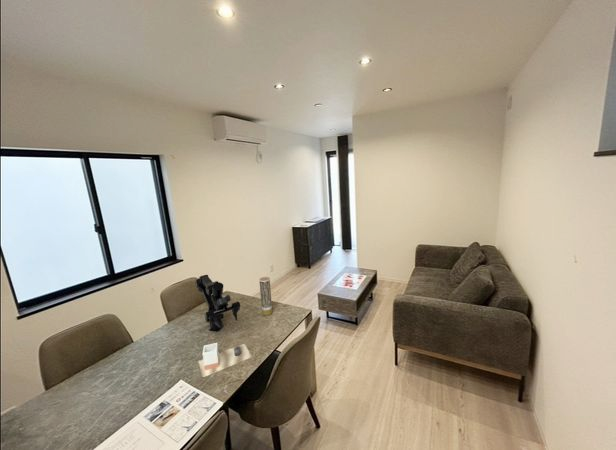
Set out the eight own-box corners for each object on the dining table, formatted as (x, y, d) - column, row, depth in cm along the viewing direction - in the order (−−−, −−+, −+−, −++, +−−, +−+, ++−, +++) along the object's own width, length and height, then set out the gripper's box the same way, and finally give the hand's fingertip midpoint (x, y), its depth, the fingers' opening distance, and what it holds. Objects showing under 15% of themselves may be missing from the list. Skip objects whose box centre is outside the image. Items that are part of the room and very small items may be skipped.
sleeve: (204, 370, 123) (202, 353, 121) (206, 361, 129) (203, 345, 127) (218, 367, 124) (216, 350, 123) (219, 358, 130) (217, 342, 129)
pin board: (202, 379, 118) (201, 371, 118) (198, 362, 129) (197, 355, 128) (252, 358, 130) (251, 351, 130) (244, 345, 141) (243, 338, 141)
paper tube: (270, 316, 170) (267, 281, 165) (260, 315, 171) (257, 280, 166) (273, 311, 176) (271, 277, 172) (264, 310, 178) (261, 276, 173)
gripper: (202, 297, 135) (211, 321, 126) (235, 287, 146) (246, 308, 137) (201, 310, 141) (210, 334, 132) (234, 299, 152) (244, 320, 143)
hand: (228, 323), depth 136 cm, fingers open, 9 cm apart
